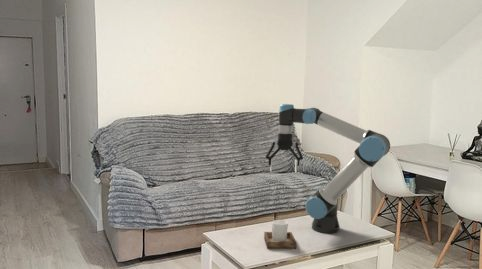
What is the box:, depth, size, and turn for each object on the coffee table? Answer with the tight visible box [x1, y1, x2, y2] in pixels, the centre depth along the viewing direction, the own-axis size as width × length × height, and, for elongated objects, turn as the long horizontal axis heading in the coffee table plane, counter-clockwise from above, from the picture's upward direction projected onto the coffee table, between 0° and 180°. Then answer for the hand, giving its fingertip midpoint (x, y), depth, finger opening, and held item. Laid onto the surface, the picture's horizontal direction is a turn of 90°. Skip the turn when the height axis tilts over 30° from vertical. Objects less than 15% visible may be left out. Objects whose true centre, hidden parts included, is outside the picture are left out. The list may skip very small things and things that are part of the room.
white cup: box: [271, 219, 289, 241], centre depth 217 cm, size 8×8×10 cm
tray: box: [263, 231, 297, 250], centre depth 217 cm, size 14×14×4 cm
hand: (283, 171), depth 236 cm, fingers open, 13 cm apart
